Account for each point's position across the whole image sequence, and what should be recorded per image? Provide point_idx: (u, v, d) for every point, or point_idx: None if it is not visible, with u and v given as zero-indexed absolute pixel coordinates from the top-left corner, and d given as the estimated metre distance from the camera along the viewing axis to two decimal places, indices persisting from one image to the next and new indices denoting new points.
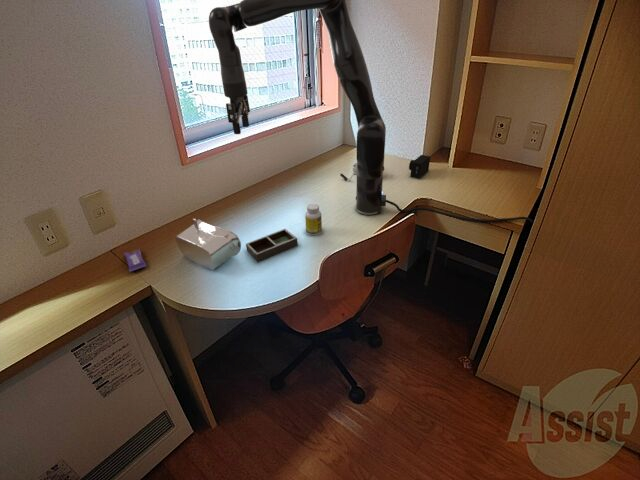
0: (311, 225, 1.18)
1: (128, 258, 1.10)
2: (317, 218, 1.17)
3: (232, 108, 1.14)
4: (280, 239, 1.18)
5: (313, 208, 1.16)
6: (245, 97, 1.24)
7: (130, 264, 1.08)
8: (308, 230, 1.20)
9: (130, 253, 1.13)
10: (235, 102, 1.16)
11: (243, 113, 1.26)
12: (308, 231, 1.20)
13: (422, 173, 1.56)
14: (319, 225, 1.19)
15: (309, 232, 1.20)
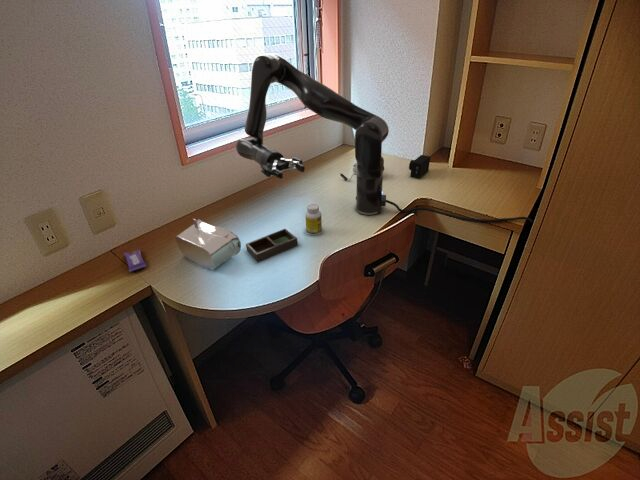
0: (311, 225, 1.18)
1: (128, 258, 1.10)
2: (317, 218, 1.17)
3: (261, 167, 1.23)
4: (280, 239, 1.18)
5: (313, 208, 1.16)
6: (291, 158, 1.29)
7: (130, 264, 1.08)
8: (308, 230, 1.20)
9: (130, 253, 1.13)
10: (268, 164, 1.25)
11: (296, 166, 1.25)
12: (308, 231, 1.20)
13: (422, 173, 1.56)
14: (319, 225, 1.19)
15: (309, 232, 1.20)
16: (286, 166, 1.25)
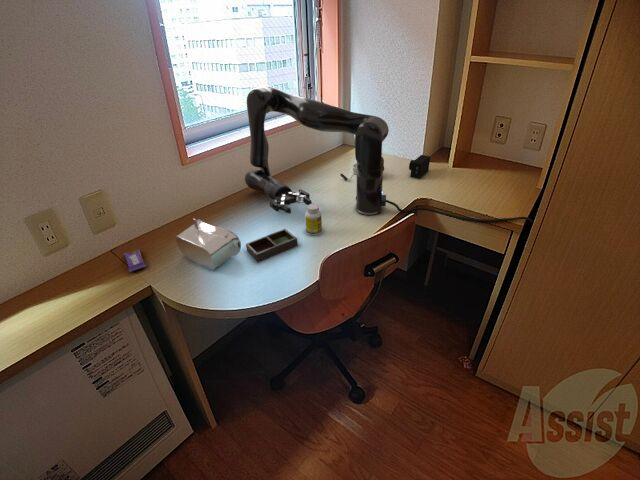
0: (311, 225, 1.18)
1: (128, 258, 1.10)
2: (317, 218, 1.17)
3: (270, 202, 1.27)
4: (280, 239, 1.18)
5: (313, 208, 1.16)
6: (299, 191, 1.34)
7: (130, 264, 1.08)
8: (308, 230, 1.20)
9: (130, 253, 1.13)
10: (276, 198, 1.30)
11: (303, 199, 1.30)
12: (308, 231, 1.20)
13: (422, 173, 1.56)
14: (319, 225, 1.19)
15: (309, 232, 1.20)
16: (294, 200, 1.30)
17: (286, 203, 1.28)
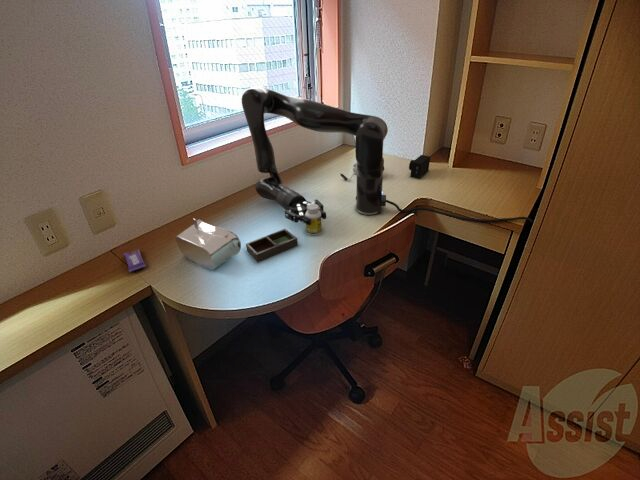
0: (311, 225, 1.18)
1: (128, 258, 1.10)
2: (317, 219, 1.17)
3: (286, 213, 1.20)
4: (280, 239, 1.18)
5: (313, 208, 1.16)
6: None
7: (130, 264, 1.08)
8: (308, 230, 1.20)
9: (129, 253, 1.13)
10: (290, 208, 1.23)
11: None
12: (308, 231, 1.20)
13: (422, 173, 1.56)
14: (319, 225, 1.19)
15: (309, 232, 1.20)
16: None
17: None
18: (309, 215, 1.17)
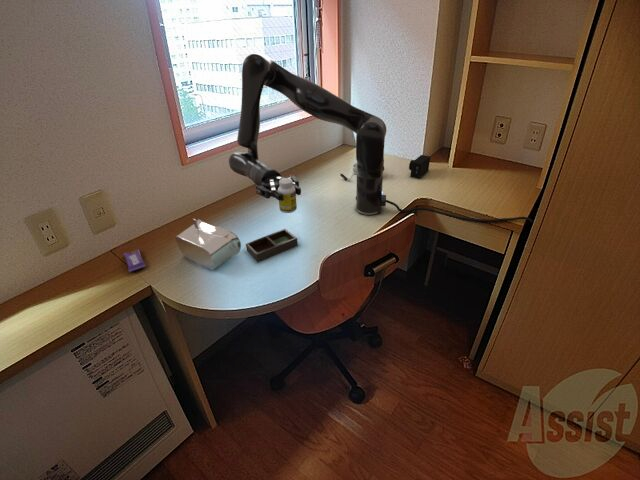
0: (284, 201, 1.08)
1: (127, 258, 1.10)
2: (290, 194, 1.07)
3: (257, 188, 1.10)
4: (280, 239, 1.18)
5: (286, 182, 1.06)
6: (290, 177, 1.16)
7: (129, 264, 1.08)
8: (281, 207, 1.10)
9: (129, 253, 1.13)
10: (262, 183, 1.12)
11: None
12: (281, 208, 1.10)
13: (422, 173, 1.56)
14: (293, 202, 1.09)
15: (282, 209, 1.10)
16: None
17: None
18: (282, 190, 1.06)
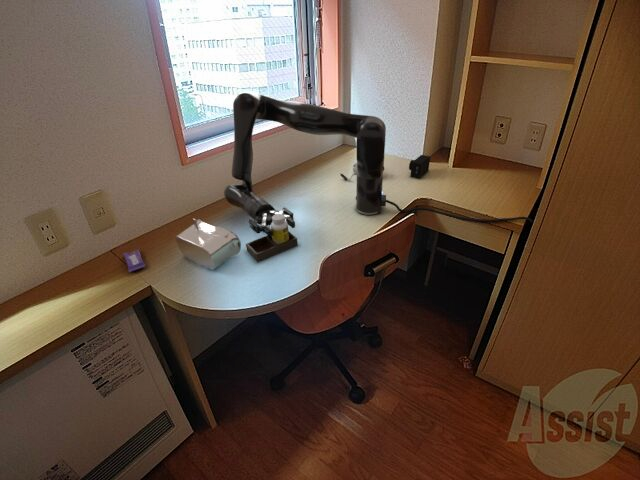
0: (276, 236, 1.12)
1: (127, 258, 1.10)
2: (282, 230, 1.11)
3: (250, 222, 1.14)
4: None
5: (278, 219, 1.10)
6: (282, 209, 1.20)
7: (129, 264, 1.08)
8: (274, 241, 1.14)
9: (129, 253, 1.13)
10: (256, 217, 1.16)
11: (286, 220, 1.16)
12: None
13: (422, 173, 1.56)
14: (285, 236, 1.13)
15: None
16: None
17: (267, 223, 1.15)
18: (274, 226, 1.11)
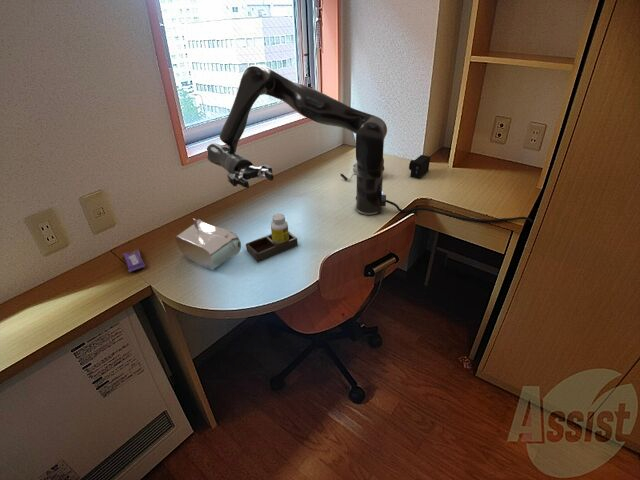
0: (277, 236, 1.12)
1: (127, 258, 1.10)
2: (282, 230, 1.11)
3: (228, 176, 1.16)
4: None
5: (278, 219, 1.10)
6: (261, 165, 1.22)
7: (129, 264, 1.08)
8: (274, 241, 1.14)
9: (129, 253, 1.12)
10: (235, 172, 1.18)
11: (265, 174, 1.18)
12: None
13: (422, 173, 1.56)
14: (285, 236, 1.13)
15: None
16: (254, 174, 1.18)
17: (245, 177, 1.17)
18: (274, 226, 1.11)
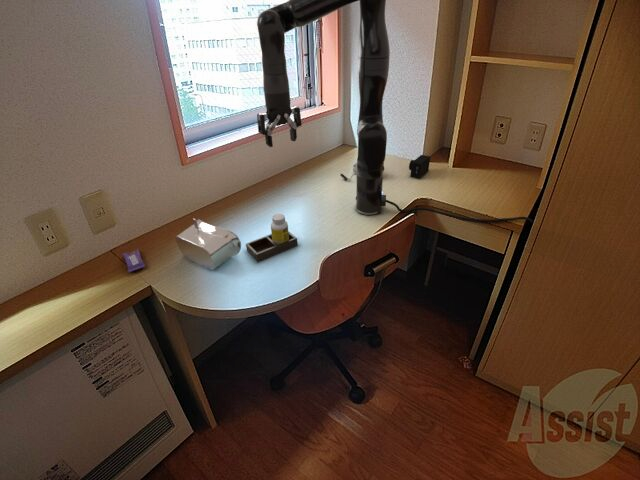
0: (277, 236, 1.12)
1: (127, 258, 1.10)
2: (282, 230, 1.11)
3: (260, 119, 1.06)
4: None
5: (278, 219, 1.10)
6: (296, 109, 1.12)
7: (129, 264, 1.08)
8: (274, 241, 1.14)
9: (129, 253, 1.12)
10: (269, 113, 1.07)
11: (291, 126, 1.14)
12: None
13: (422, 173, 1.56)
14: (285, 236, 1.13)
15: None
16: None
17: None
18: (274, 226, 1.11)
